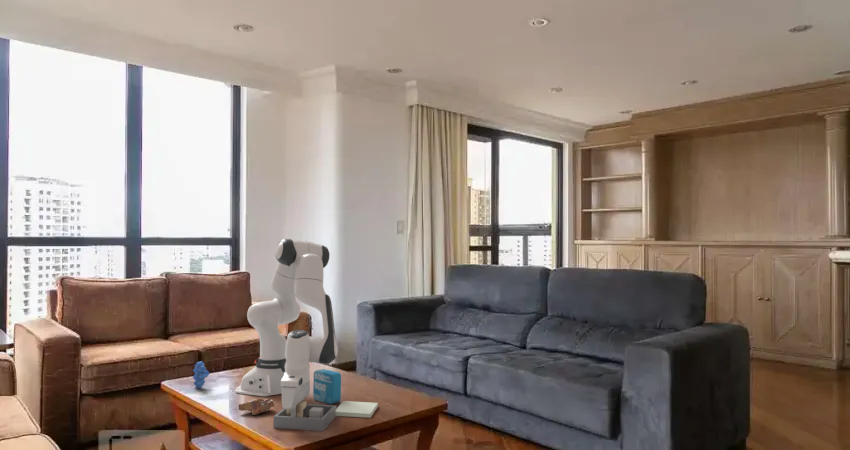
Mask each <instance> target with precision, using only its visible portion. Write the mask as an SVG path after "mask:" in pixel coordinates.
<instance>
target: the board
mask: <svg viewBox="0 0 850 450" xmlns="http://www.w3.org/2000/svg"><path fill="white" fill-rule="evenodd" d="M378 406H379V403H378V402H369V401H365V402H364V401H349V400H343V401H342V402H341V403H340V404H339V405H338V407H336V417H350V418H353V417H354V418H368V419H370V418H371V417H372V416H373V415H374V413H375V411H376V410H377V408H378Z"/></svg>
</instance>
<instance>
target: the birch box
mask: <svg viewBox="0 0 850 450" xmlns="http://www.w3.org/2000/svg"><path fill="white" fill-rule="evenodd" d="M306 404H307V401H305V400H303V401H301V402H300V403H299V404H297V405H296V411H297V416H296V417H307V416H306ZM286 416H290V417H291V412H290V409H287V413H286Z"/></svg>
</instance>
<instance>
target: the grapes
mask: <svg viewBox="0 0 850 450" xmlns="http://www.w3.org/2000/svg"><path fill="white" fill-rule="evenodd" d="M192 372H194V374H193V376H192V379H193V380H194V381H193V384H194V386H195V387H196V388H197V389H199V388H200V389H202V387H203V386H205V383H206V380H205V379H206V378H208V376H209V375H210V374H211V373H210V372H209V371H208V369H207V367H206V366H205V363H204V361H202V360H201V361H197V362H196V363H195V364H194V368H193V370H192Z"/></svg>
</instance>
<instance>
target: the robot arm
mask: <svg viewBox="0 0 850 450" xmlns="http://www.w3.org/2000/svg"><path fill="white" fill-rule="evenodd" d="M330 256H331V255H330V251H329V248H328V247H327V246H325V245H324V244H321V243H320V244H318V243H314V242H312V241H307V240H305V241H304V240H298V239H297V240H296V239H292V238H284V239H281V240H280V241H279V242H278V244H277V246H276V249H275V259H276V260H277V264H276V266H275V269H274V272H273V276H272V279H271V281H270V283H269V284H270V288H271V290H272V291H273V293H274V294H275V295H274V298H273V299H272V300H264V301H259V302H256V303H254V304H252V305H250V306H249V307H248V310H247V312H246V313H247V314H246V318H247V321H248V323H249V324H250V326H251V327H253V328H254V329H255V331H256V333H257V334H258V338H259V357H258V358H257V359H255V360H254V364H255V366H254V367H253V368H252V369H250V370H249V371H248V372H246V373H245V374H244V375H243V377H242V379H241V382H240V385H239V386H237V387H236V388H235V390H234V393H235V394H241V395H249V396H250V395H251V396H256V397H257V396H258V397H269V396H273V395H275V396H276V395H281V407H282V409H290V412H291V417H296V416H297V411H296V405H297V404H299V403H300V402H301V401H304V400H305V399H306V397H308V396H310V392H311V383H310V379H311V378H310V374H311V373H310V372H311V371H310V367H311V366H310V363H316V364H317V363H319V364H324V365H329V364H331V363H332V362H334V361H335V360H336V359H337V357H338V356H337V355H338V350H339V347H338V343H337V340H336V339H337V337H336V331H335V321H334V312H333V304H332V301H331V297H330V295H329V294H327V293H326V292H325V288H324V269H325V268H326V267H327V266H328V264H329V261H330ZM296 298H297V299H296ZM297 300H298V301H299V302H301V303H302V304H304V305H306V306H309V307H311V308H314V309H315V310H317V311H318V312H320V314H321V319H322V330H323V335H321V336H311V335H309V332H308V330H303V329H296V330H292V331H290V332H288V334H287V337H285V336H284V335H282V334H281V333H280V330H279V326H282V325H287V324H290V323H292V322H294V321H296V320H297V319H298V318H299V317H300V313H301V307H300V305H299V303H298V302H297Z"/></svg>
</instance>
